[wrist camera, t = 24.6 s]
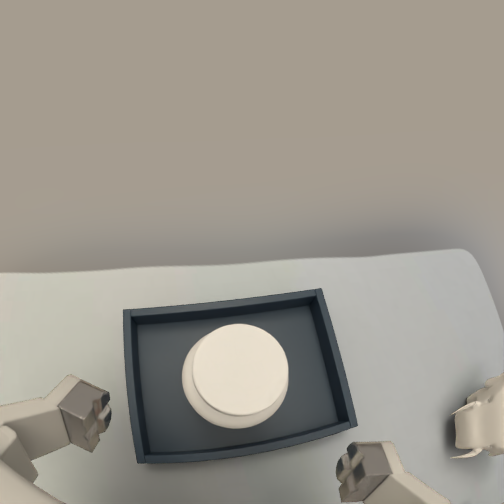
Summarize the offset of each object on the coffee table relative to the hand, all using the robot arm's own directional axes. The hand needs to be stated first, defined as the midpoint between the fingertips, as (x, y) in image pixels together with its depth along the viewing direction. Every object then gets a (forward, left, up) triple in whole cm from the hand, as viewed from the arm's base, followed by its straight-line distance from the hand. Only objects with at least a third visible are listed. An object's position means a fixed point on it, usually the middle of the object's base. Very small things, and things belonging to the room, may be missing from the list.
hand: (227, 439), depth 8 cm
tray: (+2, +3, -12) cm, 13 cm away
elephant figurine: (+24, -8, -12) cm, 28 cm away
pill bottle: (+1, +3, -12) cm, 12 cm away
